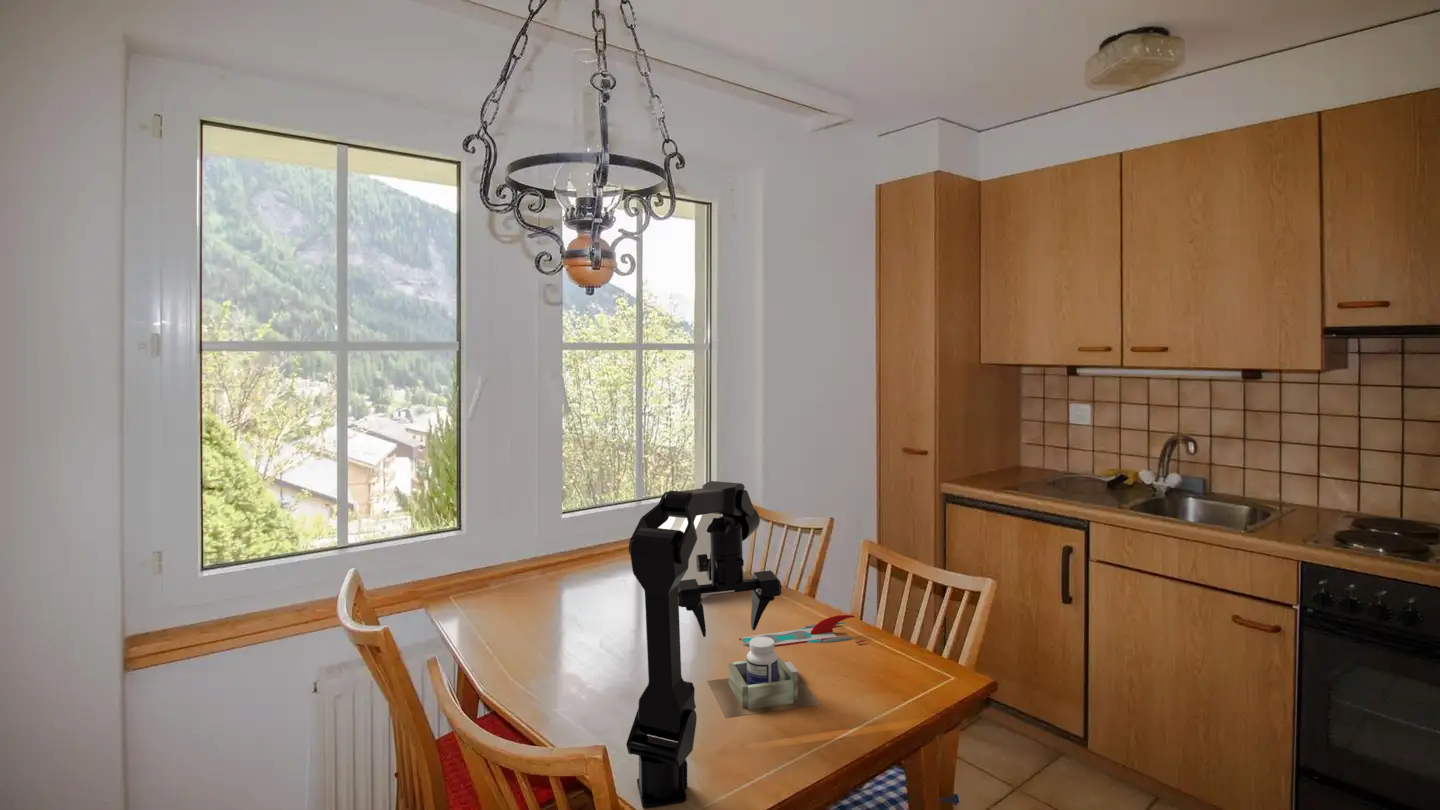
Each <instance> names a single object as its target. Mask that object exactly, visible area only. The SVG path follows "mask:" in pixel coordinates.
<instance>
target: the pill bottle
mask: <svg viewBox="0 0 1440 810" xmlns="http://www.w3.org/2000/svg"><path fill="white" fill-rule="evenodd" d="M775 648H776V646H775V642H774V640H773V639H771V638H768V637H755V638H753V639H751V640H750V646H749V649H750V650H749V652H748V653H747V655H746V661H747V685H752V684H760V683H768V682H776V681H777V658H778V656H777V653H776V652H775Z"/></svg>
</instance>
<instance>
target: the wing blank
mask: <svg viewBox="0 0 1440 810" xmlns="http://www.w3.org/2000/svg"><path fill="white" fill-rule="evenodd" d="M783 662H784V663H785V664H786V666H787V667H788V668H789V669H790V671H791V672H792V673H793V675H794V676H795V677H796V679H797V680H798V675H799V671H798V669H797V668H796V667H795V665H794V664H793V663H792V662H791V661H783Z"/></svg>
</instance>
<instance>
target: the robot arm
mask: <svg viewBox="0 0 1440 810" xmlns="http://www.w3.org/2000/svg"><path fill="white" fill-rule="evenodd" d="M745 488H746V486H745V485H744V484H743V483H742V482H731V481H729V482H728V481H716V480H715V481H714V480H710V481H708V482H705V483H704V484H702V488H699V489H698V488H697V489H688V490H686V489H685V490H672V489H671V490H668V491H665V492H664V493H663V495H662V496H661V498H660V501H659V502H658V504H657V505H655V506H654V507H653V508H651V509H650V510H649V511H647V512H646V513H645V514H644V515H643V516H641V518H639V521H638V524H637V525H636V527H635V529H634V531H633V534H632V535H631V537H630V538H629V539H630V540H629V543H628V552H629V555H630V563H631V569H632V573H633V576H634V577H635V579H636V580H637V581H638V583H639V584H640V586H641V587H642V589H643V591H644V605H645V628H646V631H645V632H646V650H647V651H646V652H647V673H648V675H647V676H648V683H647V685H646V686H645V689H644V690H643V692H642V694H641V696H640V697H639V699H638V707H637V711H636V714H635V716H634V719H633V723H632V726H631V729H630V732H629V734H628V738H627V741H626V743H625V744H626V745H625V746H626V749H627V753H628V754H629V755H636V756H637V757H638V778H637V779H636V784H637V789H638V794H639V798H640V799H639V800H640V803H641V807H642V808H647V809H648V808H651V807H659V806H665V805H669V804H676V803H683V802H686V801H687V793H686V790H687V789H688V762H687V758H688V757H689V755H690V754H691V753H692V752H693V749H694V742H695V734H696V728H697V718H698V717H697V716H698V715H697V712H696V710H695V709H696V702H695V687H694V684H693V682H691V681H685V680H684V679H683V677H682V661H681V660H682V659H681V657H682V656H681V635H680V634H681V631H680V630H681V629H680V608H685V609H686V611H689V612H690V611H692V613H693V615H694V616H695V618H696V620H697V624H698V626H699V629H700V632H701V634H702V637H703V638H706V636H707V635H706V634H707V629H706V628H707V627H706V619H705V611H704V605H703V604H702V598H701V596H706V597H709V596H715V595H723V594H731V593H740V592H749V591H751V598H752V599H751V616H750V625H751V626H750V627H751V630H752V631H755V630H756V629H757V627H758V624H759V622H760V620H761V618H762V616H763V613H764V612H765V610H766V608H767V607H768V605H769V603H770V602H772V601H774V600H775V597H778V596H781V595H782V583H781V581H780V579H779V577H778V576H777V575H776V573H774V572H773V571H772V570H770V569H769V570H762V571H761V570H760V571H754V572H752V575H751V579H750V578H749V579H744V566H745V563H744V561H745V560H744V559H743V553H744V552H743V542H744V541H745V540H746V539H747V538H749V537H750V536H751V535H752V534H753V533H754V532H755V531H756V530H757V529H758V528H759V526H760V523H761V517H760V514H759V513H758V510H757V509H756V508H754V506H753V502H752V499H751V497H750V495H749V492H748V491H747V490H746V489H745ZM709 513H713V514H721V515H722V517H719V518H713V520H712V522H711V524H710V525H709V526H708V528H707V532H708V533H710V547H711V552H710V559H708V557H707V554H702V555H696V564H697V571H698V572H705V571H707V576H708V579H709V581H711V580H712V584H706V585H698V583H697V581H696V579H690V580H681V579H682V578H683V576H684V574H685V573H686V571H687V569H688V563H689V558H690V555H691V553H692V551H693V548H694V546H695V543H696V541H697V534H696V530H695V525H694V520H695V518H696V516H698V515H703V514H709ZM669 517H679V518H687V521H688V525H687V527H686V529H685V532H684V533H683V531H680V530H671V529H662V528H658V527H660V526H661V525H662V524H663V523H665V522H666V521H667V520H668V518H669ZM708 595H709V596H708Z"/></svg>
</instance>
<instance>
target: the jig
mask: <svg viewBox="0 0 1440 810" xmlns="http://www.w3.org/2000/svg"><path fill="white" fill-rule="evenodd" d="M784 662H785V661H784V660H783V659H782V657H777V681H776V682H768V683H760V684H752V685H747V660H741V661H733V662H732V663H728V678H727V677H726V678H719V679H711V680H707V681H706V682H707V684H708V686H709V689H710V690H711V692H712V694H713V696H714V698H715V700H716V702H717V704H718V706H719V709H720V710H721V712H722V714H723V716H724V718H725V719H728V718H735V717H743V716H751V715H758V714H765V713H770V712H771V713H772V712H779V711H786V710H793V709H794V710H795V709H799V708H800V709H801V708H808V707H816V706H822V704H821V702H820V701H819V700H818V698H817V697H816V695H814V693H813V692H812V691H811V690H810V689H811V688H809V687H808V685H807V684H806V683H805V681H804V679H802V678H801V676H800V675H799V674H798V680H797V679H796V677H795V676H794V675H793V673H792V672H791V671H790V669H789V668H788V667H787V666H786V664H785V663H784Z"/></svg>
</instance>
